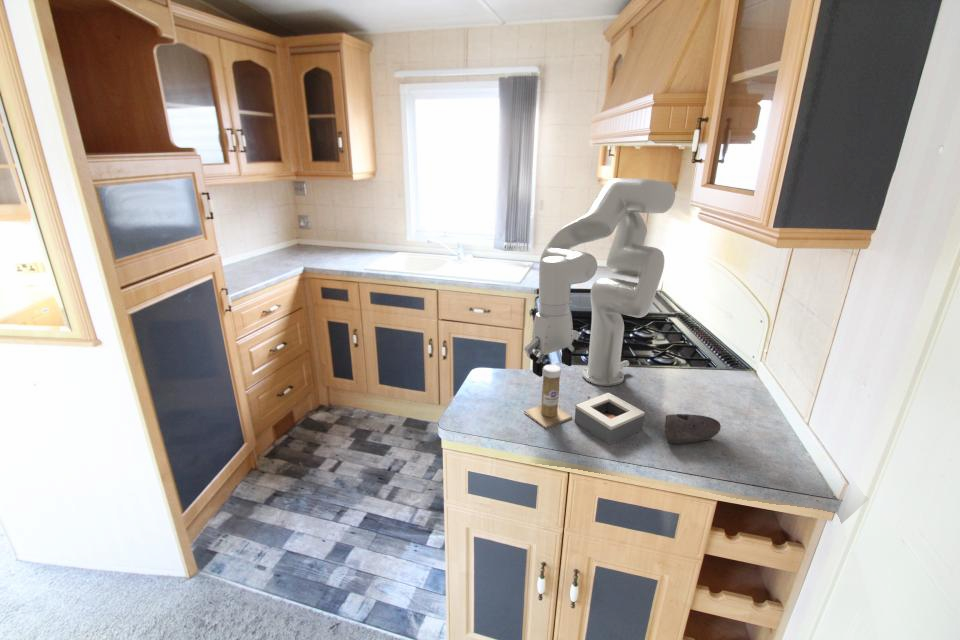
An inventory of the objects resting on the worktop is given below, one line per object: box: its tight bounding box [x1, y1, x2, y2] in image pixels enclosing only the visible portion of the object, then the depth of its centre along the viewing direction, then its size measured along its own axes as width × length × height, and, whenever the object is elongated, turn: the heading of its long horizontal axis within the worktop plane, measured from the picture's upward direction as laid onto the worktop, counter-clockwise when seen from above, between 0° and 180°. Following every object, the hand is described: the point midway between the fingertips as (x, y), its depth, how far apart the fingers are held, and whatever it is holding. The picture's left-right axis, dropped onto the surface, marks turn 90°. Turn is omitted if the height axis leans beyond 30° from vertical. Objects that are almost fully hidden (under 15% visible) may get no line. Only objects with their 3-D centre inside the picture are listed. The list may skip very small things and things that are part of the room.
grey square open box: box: [574, 392, 646, 446], centre depth 117 cm, size 12×12×5 cm
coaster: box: [523, 404, 573, 429], centre depth 123 cm, size 9×9×1 cm
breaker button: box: [602, 413, 617, 419], centre depth 118 cm, size 5×5×2 cm
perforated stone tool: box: [664, 413, 722, 444], centre depth 111 cm, size 15×5×7 cm, turn 95°
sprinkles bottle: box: [541, 364, 562, 417], centre depth 120 cm, size 5×5×14 cm
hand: (552, 369), depth 119 cm, fingers open, 9 cm apart
